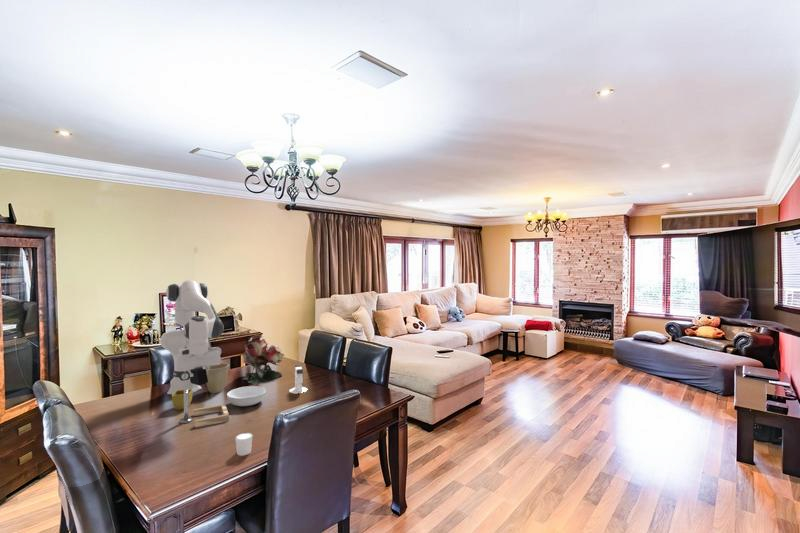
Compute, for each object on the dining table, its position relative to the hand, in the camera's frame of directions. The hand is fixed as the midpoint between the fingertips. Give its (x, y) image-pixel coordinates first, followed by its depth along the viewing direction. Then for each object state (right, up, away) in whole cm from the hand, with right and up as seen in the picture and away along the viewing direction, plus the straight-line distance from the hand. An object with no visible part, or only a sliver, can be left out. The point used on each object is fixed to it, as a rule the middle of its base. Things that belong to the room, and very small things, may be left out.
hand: (198, 375), depth 194 cm
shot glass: (+35, -25, -29) cm, 52 cm away
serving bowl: (+14, -24, +27) cm, 39 cm away
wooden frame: (+3, -24, +7) cm, 25 cm away
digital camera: (+1, -4, 0) cm, 4 cm away
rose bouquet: (+3, -23, +78) cm, 81 cm away
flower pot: (-20, -24, +20) cm, 37 cm away
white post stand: (+38, -24, +49) cm, 66 cm away
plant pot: (-14, -24, +48) cm, 55 cm away
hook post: (-7, -24, +1) cm, 25 cm away
